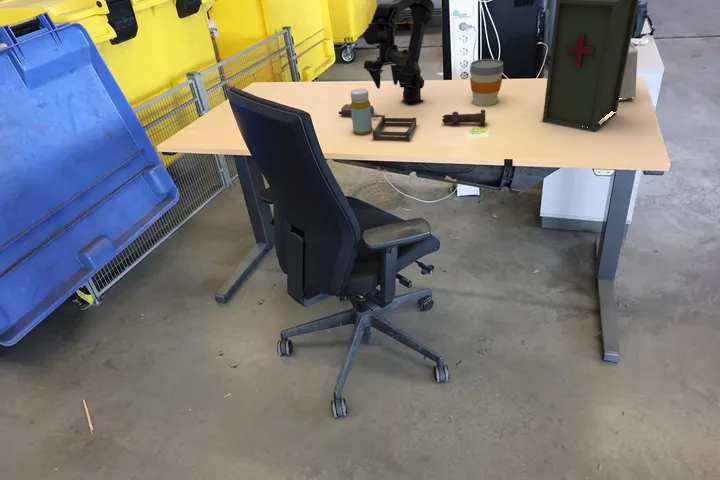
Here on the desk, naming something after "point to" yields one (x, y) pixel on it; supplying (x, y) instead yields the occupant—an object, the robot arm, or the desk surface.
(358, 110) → the bottle
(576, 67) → the first aid box
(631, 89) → the electrical switch box
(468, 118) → the bolt
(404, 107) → the desk surface
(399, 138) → the crate
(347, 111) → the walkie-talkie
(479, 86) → the reusable coffee cup
